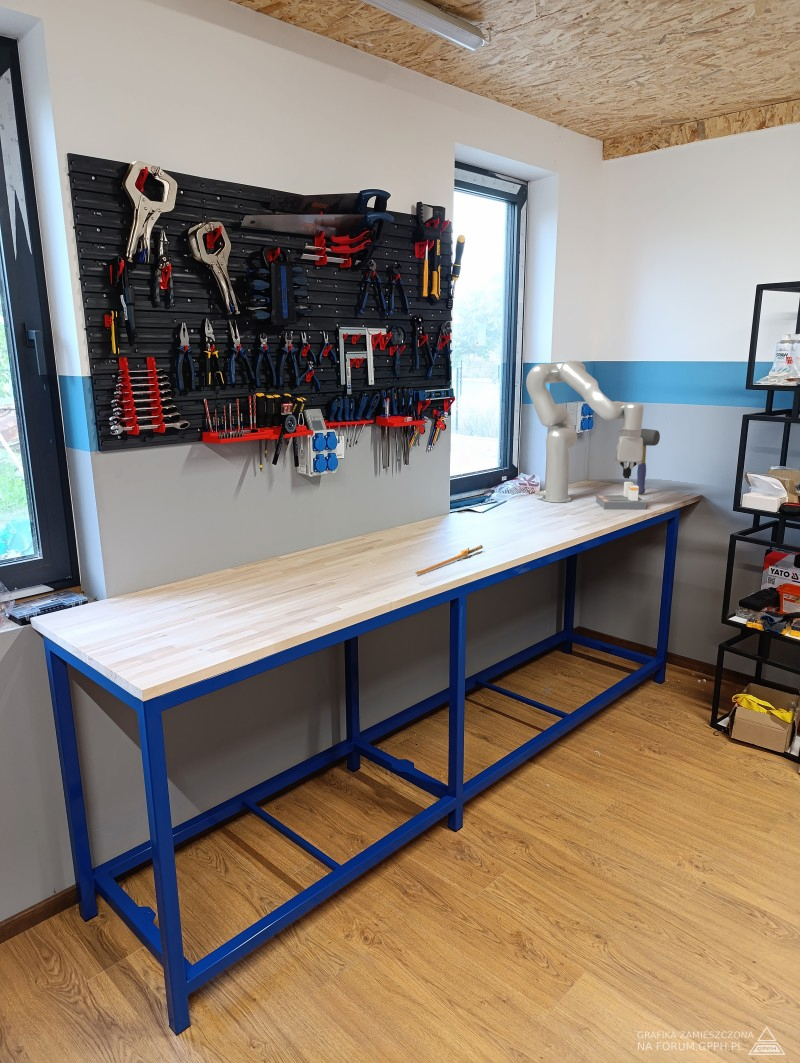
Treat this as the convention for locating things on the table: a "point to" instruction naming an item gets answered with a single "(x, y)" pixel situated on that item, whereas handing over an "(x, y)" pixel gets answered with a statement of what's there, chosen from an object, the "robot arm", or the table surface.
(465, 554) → the katana
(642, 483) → the rubber mallet
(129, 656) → the table surface
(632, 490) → the block
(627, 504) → the breaker panel
